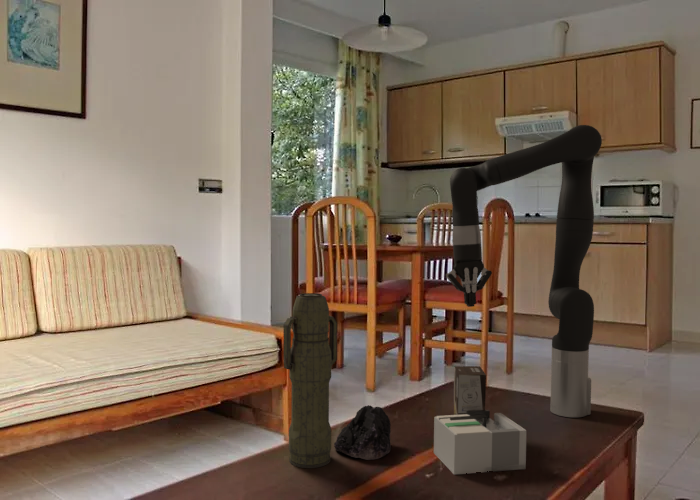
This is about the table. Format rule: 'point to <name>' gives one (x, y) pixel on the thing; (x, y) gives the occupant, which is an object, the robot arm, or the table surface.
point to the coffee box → (469, 389)
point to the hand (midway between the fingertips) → (470, 306)
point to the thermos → (310, 379)
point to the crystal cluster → (366, 434)
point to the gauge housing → (479, 445)
